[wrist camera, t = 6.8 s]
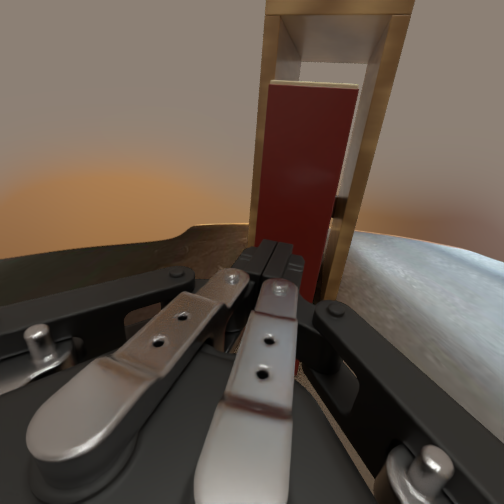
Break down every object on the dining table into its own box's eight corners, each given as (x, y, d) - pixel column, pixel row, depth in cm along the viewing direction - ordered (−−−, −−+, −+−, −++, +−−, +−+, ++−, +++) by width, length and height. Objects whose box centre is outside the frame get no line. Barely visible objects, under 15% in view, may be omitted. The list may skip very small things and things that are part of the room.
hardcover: (310, 284, 35) (347, 106, 26) (296, 377, 22) (360, 83, 13) (276, 277, 36) (300, 103, 27) (244, 362, 23) (268, 79, 14)
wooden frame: (331, 261, 42) (380, 51, 30) (329, 323, 29) (418, -10, 17) (270, 250, 44) (294, 49, 32) (242, 302, 31) (266, -7, 19)
